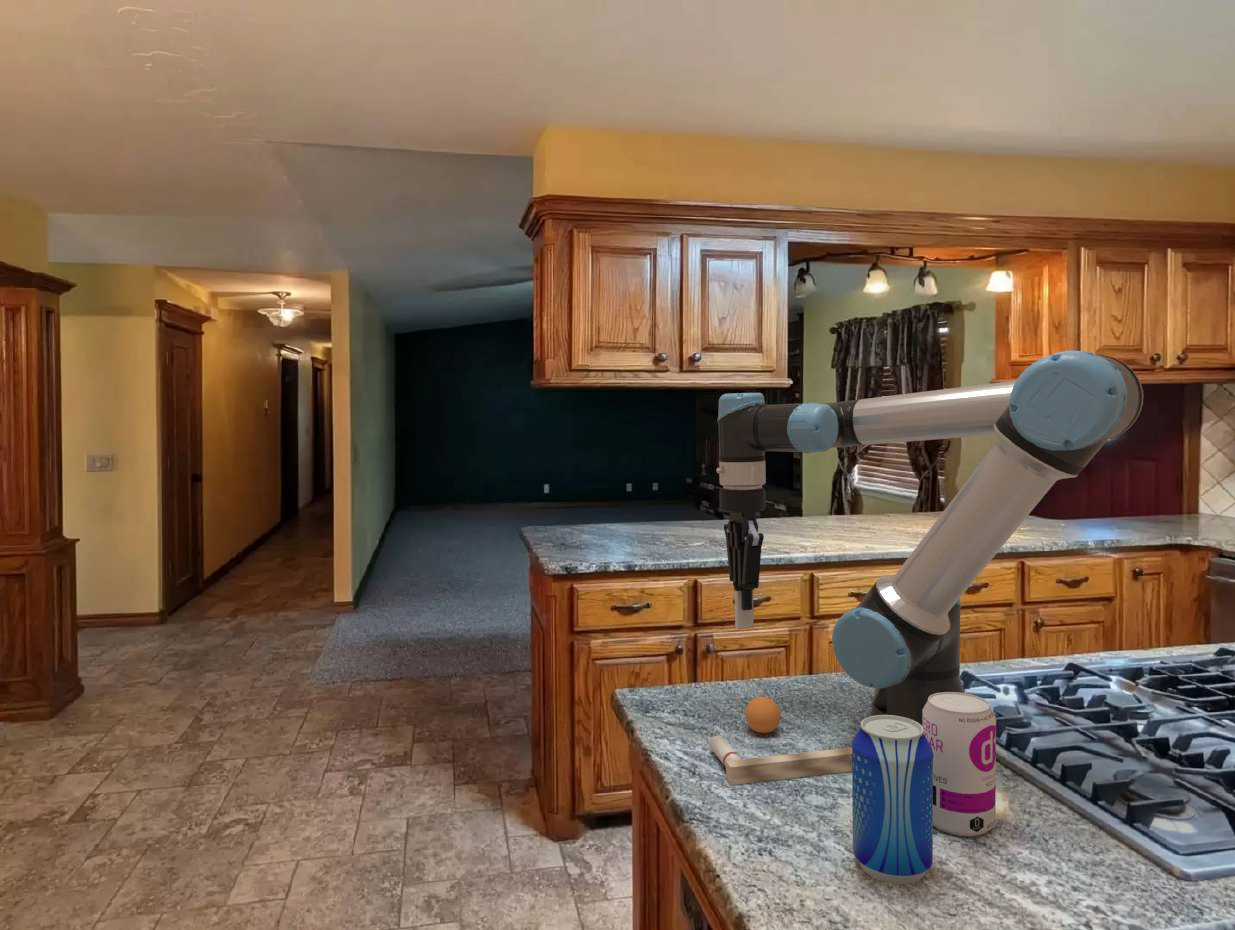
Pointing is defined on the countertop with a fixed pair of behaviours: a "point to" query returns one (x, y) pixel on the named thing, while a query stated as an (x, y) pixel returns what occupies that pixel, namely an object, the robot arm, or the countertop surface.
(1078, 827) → the countertop surface
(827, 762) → the bar
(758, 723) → the ball
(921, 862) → the beer can
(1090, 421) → the robot arm
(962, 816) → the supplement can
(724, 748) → the pin
